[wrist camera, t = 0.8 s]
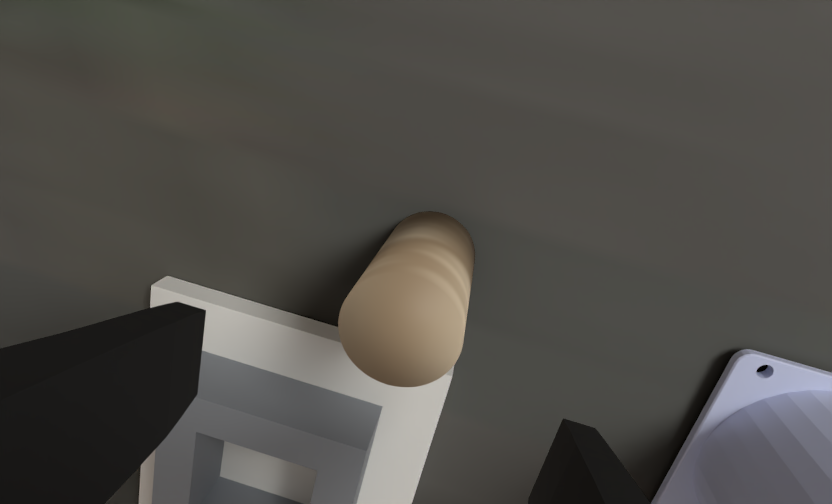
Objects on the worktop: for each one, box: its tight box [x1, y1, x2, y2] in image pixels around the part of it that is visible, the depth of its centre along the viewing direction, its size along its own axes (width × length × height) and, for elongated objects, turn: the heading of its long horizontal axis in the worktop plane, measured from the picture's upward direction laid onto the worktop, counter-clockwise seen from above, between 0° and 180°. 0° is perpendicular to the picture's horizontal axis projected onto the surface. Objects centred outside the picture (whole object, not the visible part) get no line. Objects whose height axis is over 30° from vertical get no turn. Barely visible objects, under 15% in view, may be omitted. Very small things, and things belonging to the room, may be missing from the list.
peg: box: [338, 211, 475, 387], centre depth 15 cm, size 3×3×6 cm
